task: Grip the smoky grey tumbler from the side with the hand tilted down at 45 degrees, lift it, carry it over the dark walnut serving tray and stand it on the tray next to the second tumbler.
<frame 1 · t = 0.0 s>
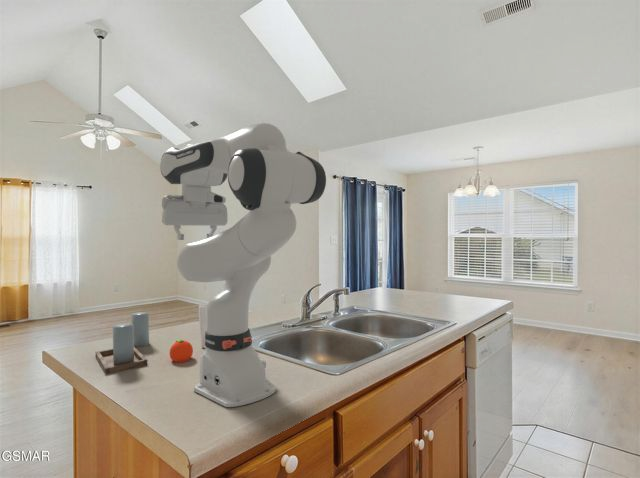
hand: (195, 239, 116), 39 cm above the counter, tool pointing down, fingers open, 8 cm apart
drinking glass: (209, 347, 130), on the counter
clementine: (180, 362, 115), on the counter
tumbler: (140, 346, 130), on the counter
tray: (120, 363, 114), on the counter
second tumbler: (123, 364, 110), point 1 cm above the counter, touching tray
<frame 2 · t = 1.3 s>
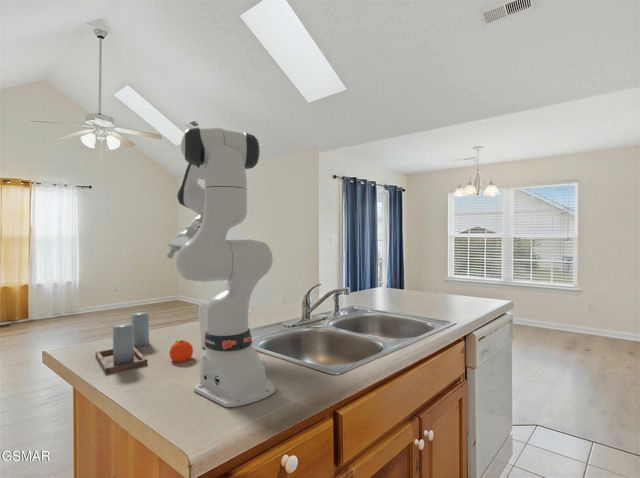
hand: (174, 258, 136), 31 cm above the counter, tool tilted 45°, fingers open, 8 cm apart
nothing on the counter moved.
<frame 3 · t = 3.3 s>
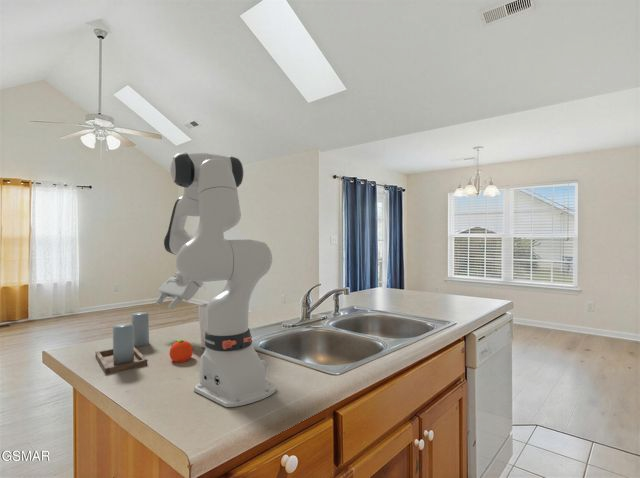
hand: (163, 305, 136), 13 cm above the counter, tool tilted 45°, fingers open, 8 cm apart
nothing on the counter moved.
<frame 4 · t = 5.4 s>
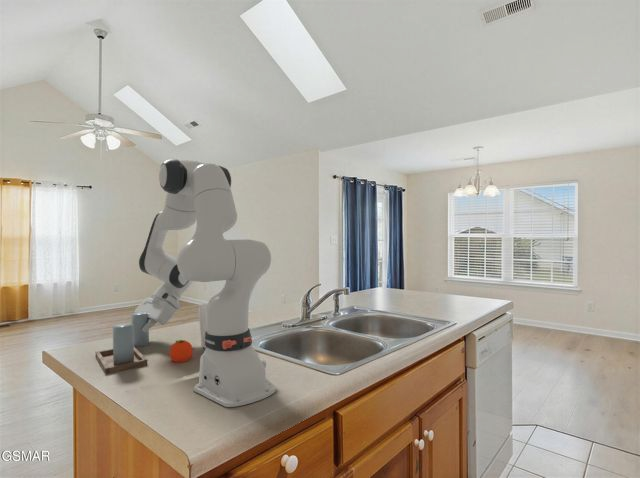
hand: (138, 329, 129), 6 cm above the counter, tool tilted 45°, fingers closed on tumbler, 5 cm apart
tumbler: (140, 346, 130), on the counter, touching gripper
everything else where it was.
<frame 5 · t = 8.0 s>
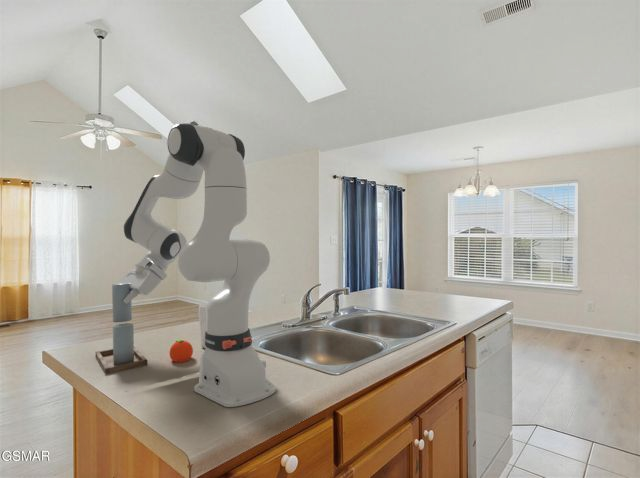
hand: (119, 301, 118), 19 cm above the counter, tool tilted 45°, fingers closed on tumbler, 5 cm apart
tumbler: (122, 320, 119), point 12 cm above the counter, touching gripper
everything else where it was.
when the fingers open (9 cm above the counter, at t = 10.7 s): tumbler drops 1 cm, resting on tray.
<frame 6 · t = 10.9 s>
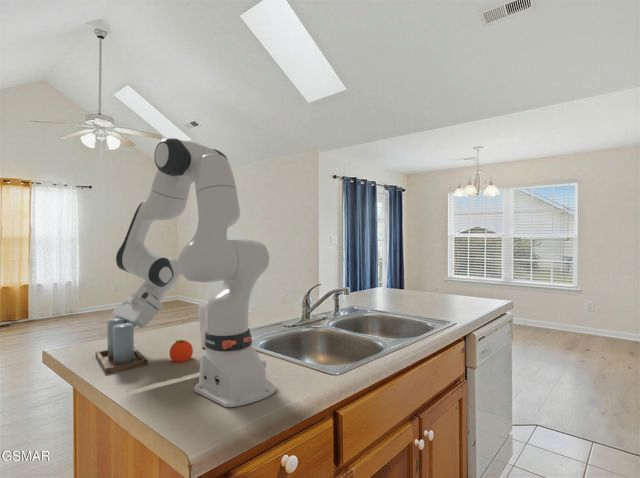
hand: (115, 333, 116), 9 cm above the counter, tool tilted 45°, fingers open, 7 cm apart
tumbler: (117, 356, 117), point 1 cm above the counter, touching tray
everything else where it was.
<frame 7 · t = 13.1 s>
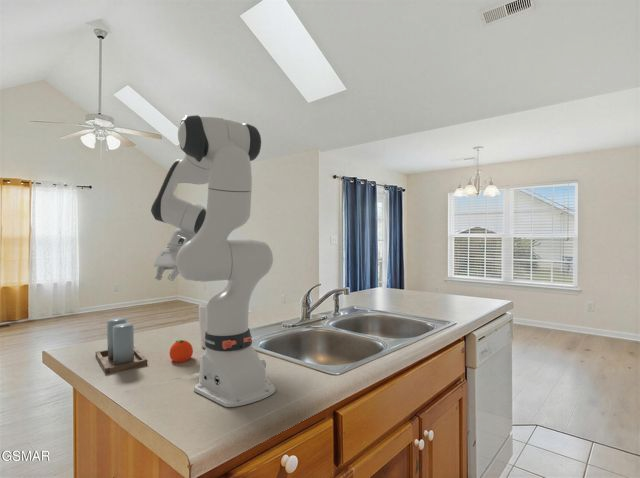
hand: (163, 279, 126), 25 cm above the counter, tool tilted 30°, fingers open, 8 cm apart
nothing on the counter moved.
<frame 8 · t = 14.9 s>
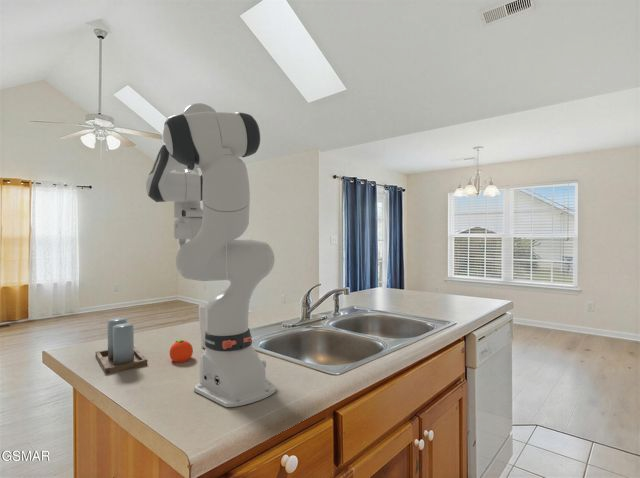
hand: (188, 252, 128), 34 cm above the counter, tool pointing down, fingers open, 8 cm apart
nothing on the counter moved.
at the end: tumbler inside the target area (4.4 cm from its centre), point 1.0 cm above the counter; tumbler tilted 0°; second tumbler tilted 0° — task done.
